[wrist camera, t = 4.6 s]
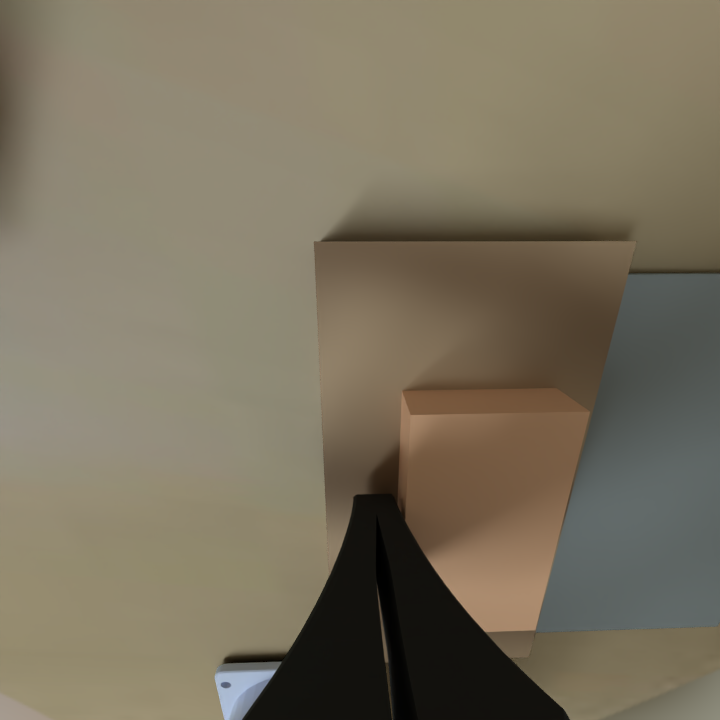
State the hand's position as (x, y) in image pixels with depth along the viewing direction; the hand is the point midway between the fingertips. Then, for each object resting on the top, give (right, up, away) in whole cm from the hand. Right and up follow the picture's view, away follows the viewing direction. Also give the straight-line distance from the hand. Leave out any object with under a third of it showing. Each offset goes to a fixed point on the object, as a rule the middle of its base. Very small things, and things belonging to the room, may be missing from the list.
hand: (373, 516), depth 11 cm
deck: (+3, +1, +2) cm, 4 cm away
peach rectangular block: (+3, 0, 0) cm, 3 cm away
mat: (+12, 0, +2) cm, 12 cm away
